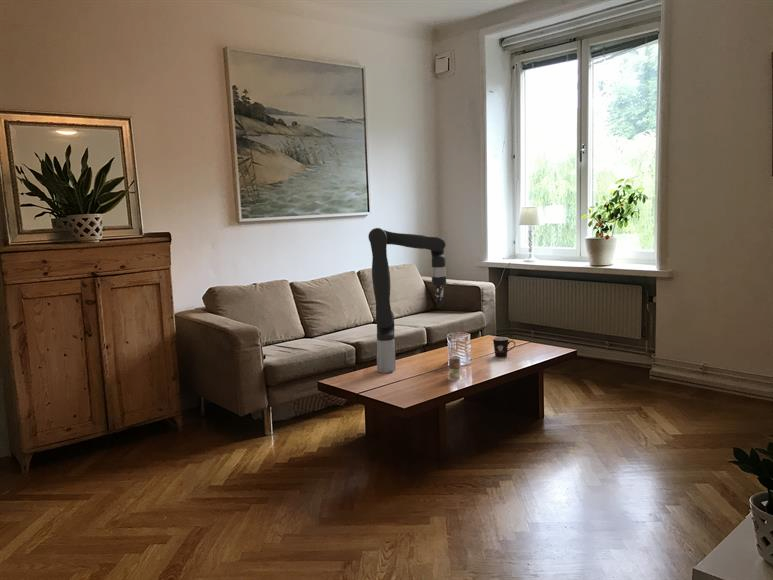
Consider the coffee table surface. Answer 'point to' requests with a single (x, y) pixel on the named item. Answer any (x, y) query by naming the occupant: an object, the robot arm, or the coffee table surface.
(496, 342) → the coffee mug
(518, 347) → the coffee table surface
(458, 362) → the walnut cube
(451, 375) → the birch base cube
